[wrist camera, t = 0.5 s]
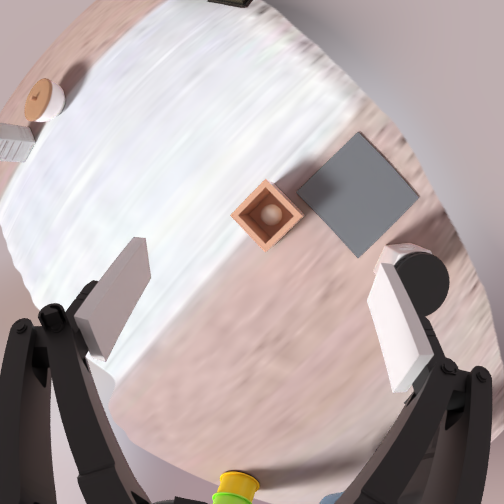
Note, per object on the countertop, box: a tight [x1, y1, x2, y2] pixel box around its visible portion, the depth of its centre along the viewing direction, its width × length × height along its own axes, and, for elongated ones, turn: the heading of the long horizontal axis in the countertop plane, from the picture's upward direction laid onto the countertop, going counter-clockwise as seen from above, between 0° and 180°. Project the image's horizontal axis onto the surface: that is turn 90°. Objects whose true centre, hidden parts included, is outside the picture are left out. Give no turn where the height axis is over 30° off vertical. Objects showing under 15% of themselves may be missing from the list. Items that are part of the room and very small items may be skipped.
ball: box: [261, 204, 282, 226], centre depth 44 cm, size 3×3×3 cm
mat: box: [296, 132, 419, 258], centre depth 43 cm, size 14×14×1 cm
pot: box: [230, 179, 305, 252], centre depth 43 cm, size 7×7×7 cm
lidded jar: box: [25, 78, 65, 122], centre depth 50 cm, size 11×11×9 cm
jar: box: [373, 243, 449, 316], centre depth 37 cm, size 9×8×12 cm
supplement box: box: [0, 123, 36, 162], centre depth 52 cm, size 7×7×13 cm
